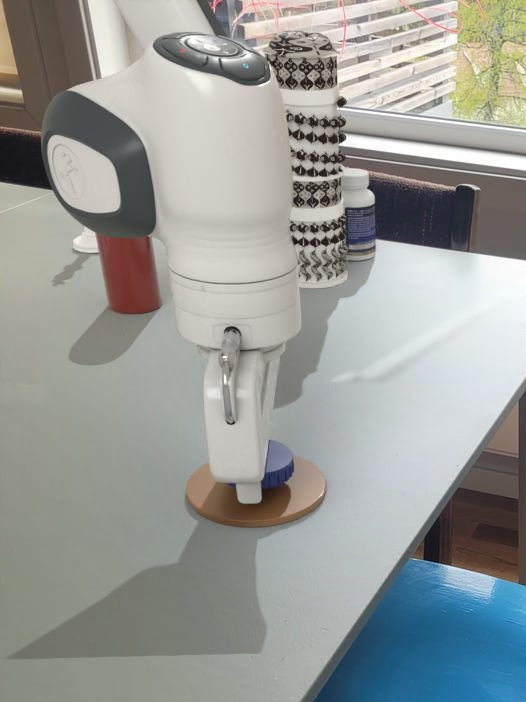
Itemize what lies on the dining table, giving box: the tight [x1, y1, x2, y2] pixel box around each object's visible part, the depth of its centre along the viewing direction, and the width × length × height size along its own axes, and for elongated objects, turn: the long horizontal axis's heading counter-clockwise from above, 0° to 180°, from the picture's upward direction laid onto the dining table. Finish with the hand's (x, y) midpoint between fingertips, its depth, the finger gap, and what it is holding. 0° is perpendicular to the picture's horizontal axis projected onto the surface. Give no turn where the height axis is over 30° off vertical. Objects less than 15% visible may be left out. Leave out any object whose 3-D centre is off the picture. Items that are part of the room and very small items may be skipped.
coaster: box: [185, 454, 327, 528], centre depth 80 cm, size 11×11×1 cm
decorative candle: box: [261, 30, 349, 289], centre depth 111 cm, size 9×9×25 cm
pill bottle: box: [341, 167, 377, 262], centre depth 123 cm, size 5×5×10 cm
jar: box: [95, 233, 163, 315], centre depth 106 cm, size 6×6×10 cm
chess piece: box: [72, 225, 99, 254], centre depth 120 cm, size 5×5×10 cm
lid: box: [226, 439, 294, 489], centre depth 79 cm, size 6×6×1 cm
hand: (254, 474), depth 79 cm, fingers closed on lid, 6 cm apart
